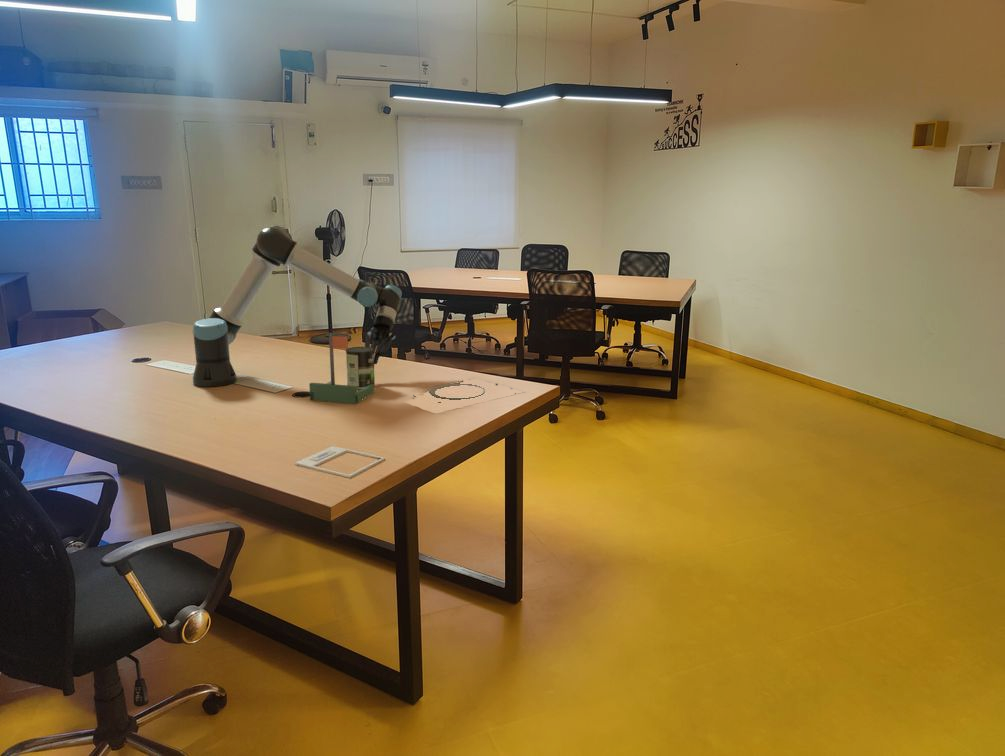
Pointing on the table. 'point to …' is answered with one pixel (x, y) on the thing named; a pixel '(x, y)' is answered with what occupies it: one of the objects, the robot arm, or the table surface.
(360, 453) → the photo frame
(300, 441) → the table surface
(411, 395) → the table surface
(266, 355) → the table surface
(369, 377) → the coffee can
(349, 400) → the green frame
